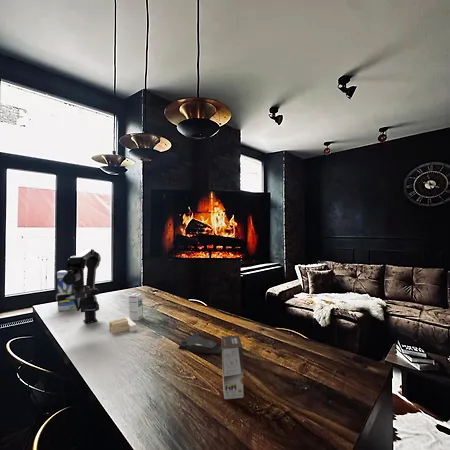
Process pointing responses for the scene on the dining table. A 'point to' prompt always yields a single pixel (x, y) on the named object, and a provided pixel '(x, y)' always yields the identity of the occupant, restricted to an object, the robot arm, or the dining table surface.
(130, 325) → the plank
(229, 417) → the dining table surface
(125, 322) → the oak block
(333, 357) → the dining table surface
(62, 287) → the string lights box
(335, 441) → the dining table surface
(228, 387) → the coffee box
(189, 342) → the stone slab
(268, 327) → the dining table surface
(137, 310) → the syrup box
